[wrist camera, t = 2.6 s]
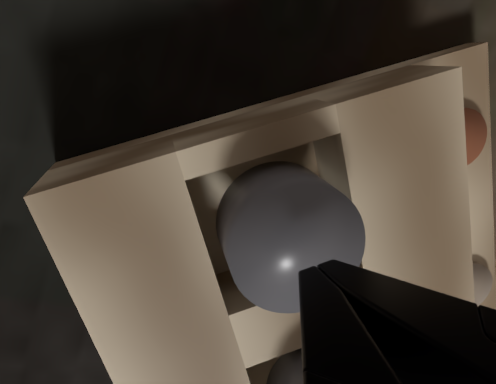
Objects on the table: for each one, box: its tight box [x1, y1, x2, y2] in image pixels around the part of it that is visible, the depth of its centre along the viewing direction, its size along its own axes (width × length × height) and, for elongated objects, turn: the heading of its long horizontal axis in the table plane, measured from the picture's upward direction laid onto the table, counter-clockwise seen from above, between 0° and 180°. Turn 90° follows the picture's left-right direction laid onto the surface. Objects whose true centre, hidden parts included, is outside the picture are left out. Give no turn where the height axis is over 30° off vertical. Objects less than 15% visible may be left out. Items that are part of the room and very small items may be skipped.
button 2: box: [216, 161, 366, 314], centre depth 11 cm, size 4×4×2 cm
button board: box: [23, 42, 496, 384], centre depth 16 cm, size 15×19×4 cm
